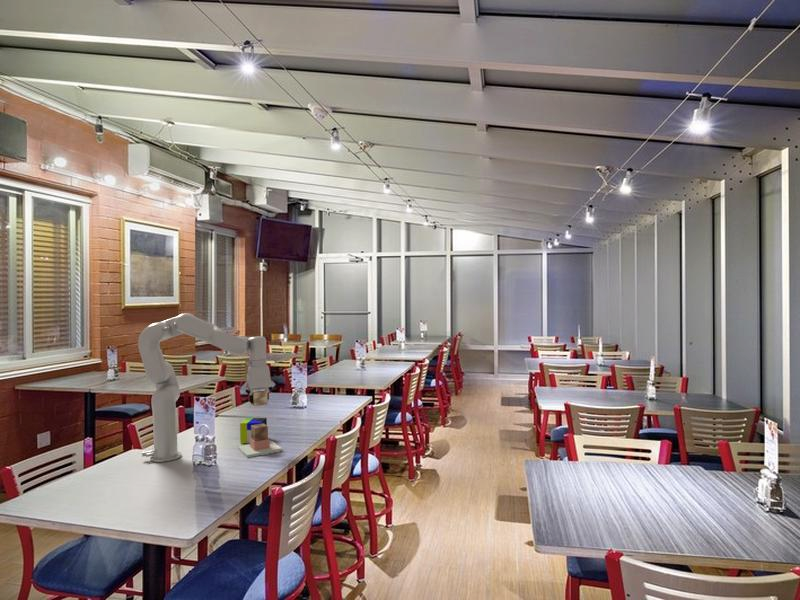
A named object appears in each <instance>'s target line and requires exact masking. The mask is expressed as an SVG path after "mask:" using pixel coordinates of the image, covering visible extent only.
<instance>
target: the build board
mask: <svg viewBox="0 0 800 600" xmlns="http://www.w3.org/2000/svg"><path fill="white" fill-rule="evenodd" d="M237 450H238V451H239V452H241V453H242V455H243V456H244V457H246V458H247V459H248V457H249V458H252V457H253V458H254V457H258V456H259V455H260V456H264V454H265V455H270V454H269V453H271V454H275V453H274V452H276V453H280V451H281V452H283V447H281V446H279V445H278V444H277V443H275V442H274V441H273V440H270V438H269V437H268V439H266V440H260V441H254V440H253V439H251V438H250V444H241V445H237ZM260 456H259V457H260Z"/></svg>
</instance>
